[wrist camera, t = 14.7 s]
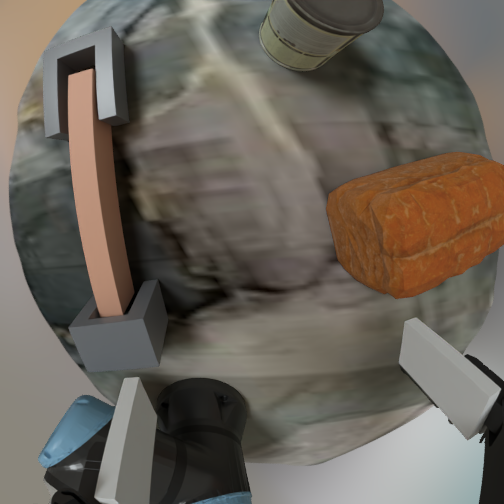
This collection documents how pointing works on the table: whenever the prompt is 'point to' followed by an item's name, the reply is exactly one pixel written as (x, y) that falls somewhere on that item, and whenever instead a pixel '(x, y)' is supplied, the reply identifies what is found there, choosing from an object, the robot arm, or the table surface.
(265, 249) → the table surface
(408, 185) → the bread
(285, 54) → the coffee can
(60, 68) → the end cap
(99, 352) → the cap
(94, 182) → the slat
